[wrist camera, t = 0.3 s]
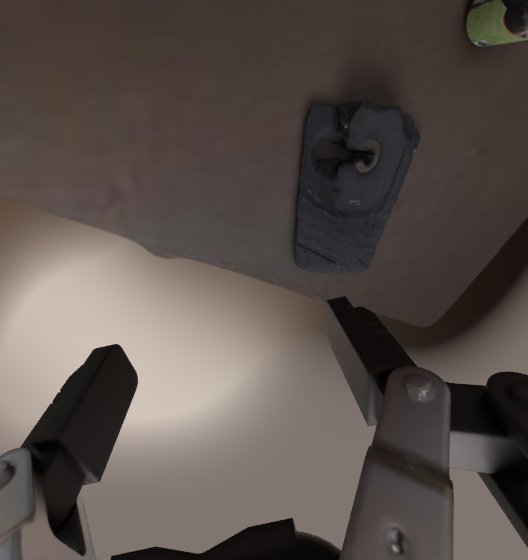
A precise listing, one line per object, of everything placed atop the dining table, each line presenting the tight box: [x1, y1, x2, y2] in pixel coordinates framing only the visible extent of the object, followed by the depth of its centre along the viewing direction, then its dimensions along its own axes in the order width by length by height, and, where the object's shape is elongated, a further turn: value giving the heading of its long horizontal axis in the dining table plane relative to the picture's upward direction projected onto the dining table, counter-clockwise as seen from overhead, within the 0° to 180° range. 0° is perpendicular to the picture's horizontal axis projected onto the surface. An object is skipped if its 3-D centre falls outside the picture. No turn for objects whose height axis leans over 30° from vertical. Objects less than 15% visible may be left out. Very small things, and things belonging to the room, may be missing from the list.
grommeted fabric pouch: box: [294, 101, 420, 273], centre depth 35 cm, size 15×22×5 cm
